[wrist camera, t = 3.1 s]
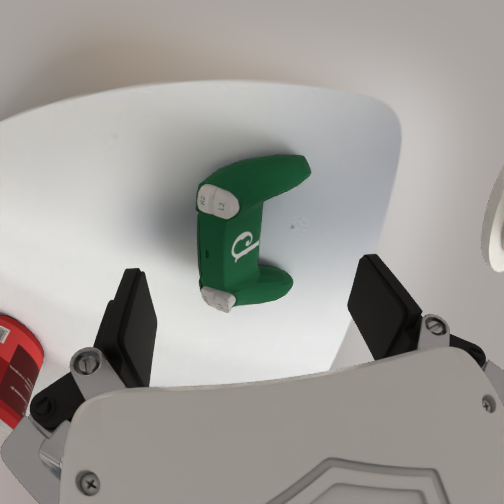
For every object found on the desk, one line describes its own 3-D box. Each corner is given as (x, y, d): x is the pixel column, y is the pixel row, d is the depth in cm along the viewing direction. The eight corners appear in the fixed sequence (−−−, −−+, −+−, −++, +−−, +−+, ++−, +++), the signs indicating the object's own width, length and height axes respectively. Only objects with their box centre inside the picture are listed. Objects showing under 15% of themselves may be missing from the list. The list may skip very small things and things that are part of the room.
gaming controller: (262, 144, 16) (182, 157, 12) (318, 157, 14) (246, 173, 10) (252, 269, 21) (191, 309, 17) (295, 292, 19) (237, 342, 15)
